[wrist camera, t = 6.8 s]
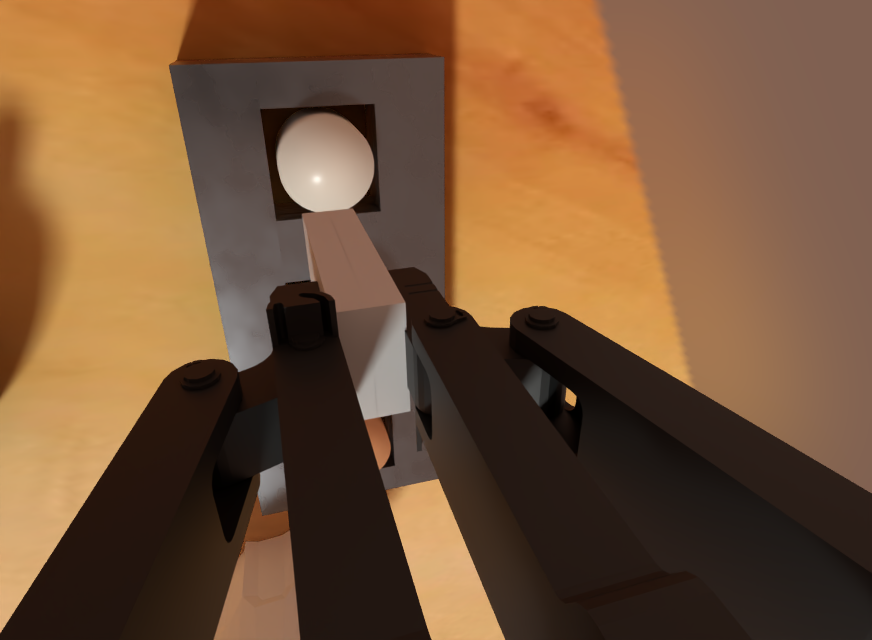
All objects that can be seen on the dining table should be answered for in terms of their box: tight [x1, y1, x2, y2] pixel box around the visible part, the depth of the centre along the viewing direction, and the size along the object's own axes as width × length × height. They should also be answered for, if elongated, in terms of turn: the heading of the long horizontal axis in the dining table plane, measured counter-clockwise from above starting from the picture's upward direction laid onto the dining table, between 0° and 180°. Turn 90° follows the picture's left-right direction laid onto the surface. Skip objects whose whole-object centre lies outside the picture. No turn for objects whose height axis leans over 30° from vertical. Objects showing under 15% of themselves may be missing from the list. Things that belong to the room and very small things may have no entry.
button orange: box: [364, 417, 391, 470], centre depth 36 cm, size 4×4×4 cm
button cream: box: [275, 107, 374, 212], centre depth 28 cm, size 4×4×4 cm
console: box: [169, 54, 445, 516], centre depth 33 cm, size 26×12×3 cm, turn 1°
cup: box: [214, 530, 300, 640], centre depth 39 cm, size 10×10×10 cm
